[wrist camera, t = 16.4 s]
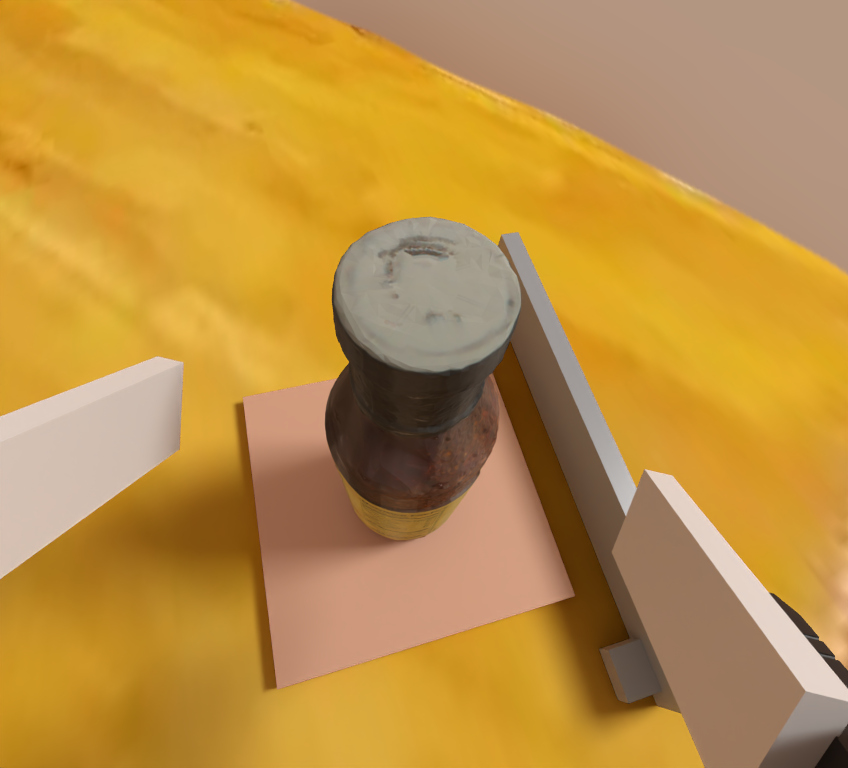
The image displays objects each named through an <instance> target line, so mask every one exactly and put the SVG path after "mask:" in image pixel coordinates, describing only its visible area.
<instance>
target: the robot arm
mask: <svg viewBox="0 0 848 768" xmlns="http://www.w3.org/2000/svg"><path fill="white" fill-rule="evenodd" d="M183 363H184V362H179V361H175V360H171V359H166V358H162V357H158V356H157V357H155V358H152V359H150V360H147V361H144V362H142V363H139V364H137V365H134V366H131V367H129V368H126V369H123V370H121V371H118V372H116V373H113V374H110V375H108V376H105V377H103V378H100V379H97V380H95V381H92V382H89V383H87V384H84V385H82V386H79V387H76V388H74V389H71V390H69V391H66V392H63V393H61V394H58V395H55V396H53V397H50V398H48V399H45V400H42V401H40V402H37V403H35V404H32V405H29V406H27V407H24V408H21V409H19V410H16V411H14V412H11V413H8V414H6V415H3V416H1V417H0V579H1V578H2V577H4V576H5V575H7V574H8V573H9V572H11V571H12V570H13V569H15V568H16V567H18V566H19V565H20V564H22V563H23V562H24V561H26V560H27V559H29V558H30V557H31V556H33V555H34V554H35V553H37V552H38V551H40V550H41V549H42V548H44V547H45V546H47V545H48V544H49V543H51V542H52V541H53V540H55V539H56V538H58V537H59V536H60V535H62V534H63V533H64V532H66V531H67V530H69V529H70V528H71V527H73V526H74V525H75V524H77V523H78V522H80V521H81V520H82V519H84V518H85V517H87V516H88V515H89V514H91V513H92V512H93V511H95V510H96V509H98V508H99V507H100V506H102V505H103V504H104V503H106V502H107V501H109V500H110V499H111V498H113V497H114V496H115V495H117V494H118V493H120V492H121V491H122V490H124V489H125V488H127V487H128V486H129V485H131V484H132V483H133V482H135V481H136V480H138V479H139V478H140V477H142V476H143V475H144V474H146V473H147V472H149V471H150V470H151V469H153V468H154V467H156V466H157V465H158V464H160V463H161V462H162V461H164V460H165V459H167V458H168V457H169V456H171V455H172V454H173V453H175V452H176V451H178V450H179V449H180V427H181V406H182V385H183ZM612 554H613V556H614V559H615V561H616V563H617V566H618V568H619V570H620V573H621V575H622V577H623V579H624V582H625V584H626V586H627V589H628V591H629V593H630V596H631V598H632V600H633V603H634V605H635V607H636V609H637V612H638V614H639V616H640V619H641V621H642V623H643V626H644V628H645V630H646V633H647V635H648V637H649V639H650V642H651V644H652V646H653V649H654V651H655V653H656V656H657V658H658V660H659V663H660V665H661V667H662V669H663V672H664V674H665V676H666V679H667V681H668V683H669V686H670V688H671V690H672V693H673V695H674V697H675V700H676V702H677V704H678V706H679V709H680V711H681V713H682V716H683V718H684V720H685V723H686V725H687V727H688V730H689V732H690V734H691V736H692V739H693V741H694V743H695V746H696V748H697V750H698V753H699V755H700V757H701V760H702V762H703V764H704V766H705V768H848V670H847V669H846V668H845V667H844V666H843V665H842V663H841V662H840V661H838V660H835V655H834V654H833V653H832V652H831V651H830V649H829V648H828V647H827V646H826V645H825V644H824V642H822V641H819V637H818V635H817V634H816V633H815V632H814V631H813V630H812V628H811V627H810V626H809V625H808V624H807V623H806V621H805V620H804V619H803V618H802V617H801V616H800V615H799V614H798V613H797V612H796V611H794V610H793V609H792V608H791V607H790V606H788V605H787V604H786V603H785V602H783V601H782V600H781V599H780V598H778V597H777V596H776V595H775V594H773V593H769V592H768V591H767V590H766V589H765V588H764V586H763V585H762V584H761V583H760V582H759V580H758V579H757V578H756V577H755V575H754V574H753V573H752V572H751V571H750V569H749V568H748V567H747V566H746V565H745V563H744V562H743V561H742V560H741V558H740V557H739V556H738V555H737V554H736V552H735V551H734V550H733V549H732V548H731V546H730V545H729V544H728V543H727V541H726V540H725V539H724V538H723V537H722V535H721V534H720V533H719V532H718V531H717V529H716V528H715V527H714V526H713V524H712V523H711V522H710V521H709V520H708V518H707V517H706V516H705V515H704V514H703V512H702V511H701V510H700V509H699V507H698V506H697V505H696V504H695V503H694V501H693V500H692V499H691V498H690V497H689V495H688V494H687V493H686V492H685V490H684V489H683V488H682V487H681V486H680V484H679V483H678V482H677V481H676V480H675V478H674V477H673V476H671V475H667V474H663V473H658V472H654V471H650V470H645V469H644V472H643V474H642V477H641V479H640V482H639V485H638V487H637V490H636V492H635V495H634V497H633V500H632V502H631V505H630V507H629V510H628V512H627V515H626V517H625V520H624V522H623V525H622V527H621V530H620V532H619V535H618V537H617V540H616V542H615V545H614V547H613V550H612Z"/></svg>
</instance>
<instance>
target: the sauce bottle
mask: <svg viewBox="0 0 848 768" xmlns="http://www.w3.org/2000/svg"><path fill="white" fill-rule="evenodd" d="M332 306H333V315H334V323H335V330H336V336H337V339H338V341H339V343H340V345H341V348H342V351H343V352H344V354H345V356H346V358H347V359H348V361H349V364H348V365H347V366H346V367H345V369H344V370H343V371H342V372H341V374H340V375H339V377H338V378H337V380H336V381H335V383H334V385H333V387H332V389H331V391H330V394H329V397H328V400H327V404H326V411H325V431H326V439H327V443H328V447H329V450H330V452H331V455H332V458H333V460H334V463H335V466H336V468H337V470H338V472H339V474H340V477H341V479H342V482H343V484H344V487H345V490H346V492H347V494H348V497H349V499H350V502H351V504H352V507H353V509H354V511H355V513H356V514H357V516H358V517H359V518H360V520H361V521H362V522H363V523H364V524H365V525H366V526H368V527H369V528H370V529H371V530H373V531H374V532H376V533H378V534H380V535H382V536H384V537H387V538H390V539H394V540H411V539H417V538H422V537H425V536H426V535H428V534H430V533H432V532H434V531H435V530H437V529H438V528H439V527H440V526H441V525H443V524H444V523H445V522H446V521H447V520H448V518H449V517H450V516H451V514H452V513H453V512H454V510H455V509H456V507H457V506H458V505H459V503H460V502H461V501H462V499H463V498H464V496H465V495H466V494H467V492H468V491H469V489H470V488H471V487H472V485H473V484H474V482H475V481H476V479H477V478H478V477H479V475H480V470H481V469H482V467H483V466H484V464H485V462H486V461H487V459H488V457H489V455H490V454H491V452H492V449H493V447H494V445H495V443H496V439H497V432H498V429H499V428H498V425H499V415H500V407H499V401H498V394H497V392H496V391H495V388H494V384H493V382H492V379H491V377H490V374H492V372H493V371H494V369H495V368H496V366H497V365H498V364H499V363H500V362H501V361H502V359H503V356H504V354H505V351H506V349H507V347H508V345H509V342H510V340H511V338H512V335H513V333H514V330H515V328H516V325H517V322H518V319H519V315H520V311H521V290H520V284H519V281H518V278H517V275H516V274H515V272H514V271H513V270H512V267H511V265H510V263H509V261H508V259H507V258H506V257H505V255H504V254H503V252H502V251H501V250H500V248H499V247H498V246H497V245H496V244H495V243H493V242H492V241H491V240H489V239H488V238H487V237H486V236H484V235H482V234H481V233H479V232H477V231H475V230H474V229H472V228H470V227H468V226H466V225H465V224H461V223H457V222H453V221H449V220H445V219H438V218H433V217H421V218H412V219H405V220H401V221H397V222H393V223H390V224H387V225H385V226H382V227H380V228H377V229H375V230H373V231H370V232H367V233H366V234H365V235H364V236H362V237H361V238H360V239H359V240H358V241H356V242H354V243H353V244H352V245H350V247H349V249H348V250H347V251H346V253H345V254H344V255H343V256H342V258H341V260H340V262H339V264H338V267H337V270H336V272H335V275H334V282H333V288H332Z"/></svg>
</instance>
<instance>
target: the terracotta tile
mask: <svg viewBox="0 0 848 768" xmlns="http://www.w3.org/2000/svg"><path fill="white" fill-rule="evenodd" d="M490 377H491V379H492V382H493V384H494V388H495V391H496V392H497V394H498V401H499V407H500V415H499V425H498V428H499V429H498V432H497V439H496V443H495V445H494V447H493V449H492V452H491V454H490V455H489V457H488V459H487V461H486V462H485V464H484V466H483V467H482V469H481V470H480V475H479V477H478V478H477V479H476V481H475V482H474V484H473V485H472V487H471V488H470V489H469V491H468V492H467V494H466V495H465V496H464V498H463V499H462V501H461V502H460V503H459V505H458V506H457V507H456V509H455V510H454V512H453V513H452V514H451V516H450V517H449V518H448V520H447V521H446V522H445V523H444V524H443V525H441V526H440V527H439V528H438V529H437V530H435V531H434V532H432V533H430V534H428V535H426V536H425V537H422V538H417V539H411V540H394V539H390V538H387V537H384V536H382V535H380V534H378V533H376V532H374V531H373V530H371V529H370V528H369V527H368V526H366V525H365V524H364V523H363V522H362V521H361V520H360V518H359V517H358V516H357V514H356V513H355V511H354V509H353V507H352V504H351V502H350V499H349V497H348V494H347V492H346V490H345V487H344V484H343V482H342V479H341V477H340V474H339V472H338V470H337V468H336V466H335V463H334V460H333V458H332V455H331V452H330V450H329V447H328V443H327V439H326V431H325V411H326V404H327V400H328V397H329V394H330V391H331V389H332V387H333V385H334V383H335V381H336V380H337V379H332V380H327V381H322V382H317V383H312V384H307V385H302V386H297V387H292V388H287V389H282V390H277V391H272V392H267V393H262V394H257V395H252V396H247V397H243V403H244V411H245V420H246V428H247V437H248V445H249V454H250V462H251V471H252V479H253V488H254V496H255V505H256V513H257V522H258V530H259V539H260V547H261V556H262V564H263V573H264V581H265V590H266V598H267V607H268V615H269V624H270V632H271V641H272V649H273V658H274V666H275V675H276V683H277V689H280V688H284V687H287V686H290V685H293V684H296V683H300V682H303V681H306V680H309V679H312V678H315V677H319V676H322V675H325V674H328V673H331V672H335V671H338V670H341V669H344V668H347V667H351V666H354V665H357V664H360V663H363V662H367V661H370V660H373V659H376V658H379V657H383V656H386V655H389V654H392V653H395V652H398V651H402V650H405V649H408V648H411V647H414V646H418V645H421V644H424V643H427V642H430V641H434V640H437V639H440V638H443V637H446V636H450V635H453V634H456V633H459V632H462V631H465V630H469V629H472V628H475V627H478V626H481V625H485V624H488V623H491V622H494V621H497V620H501V619H504V618H507V617H510V616H513V615H517V614H520V613H523V612H526V611H529V610H532V609H536V608H539V607H542V606H545V605H548V604H552V603H555V602H558V601H561V600H564V599H568V598H571V597H574V596H575V593H574V591H573V588H572V585H571V583H570V580H569V577H568V575H567V572H566V569H565V566H564V564H563V561H562V558H561V556H560V553H559V550H558V548H557V545H556V542H555V540H554V537H553V534H552V531H551V529H550V526H549V523H548V521H547V518H546V515H545V513H544V510H543V507H542V505H541V502H540V499H539V496H538V494H537V491H536V488H535V486H534V483H533V480H532V478H531V475H530V472H529V470H528V467H527V464H526V461H525V459H524V456H523V453H522V451H521V448H520V445H519V443H518V440H517V437H516V435H515V432H514V429H513V426H512V424H511V421H510V418H509V416H508V413H507V410H506V408H505V405H504V402H503V399H502V397H501V394H500V391H499V389H498V386H497V383H496V381H495V378H494V375H493V373H492V374H490Z"/></svg>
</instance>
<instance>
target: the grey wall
mask: <svg viewBox="0 0 848 768" xmlns="http://www.w3.org/2000/svg"><path fill="white" fill-rule="evenodd" d="M498 247H499V248H500V250H501V251H502V252H503V254H504V255H505V257H506V258H507V259H508V261H509V263H510V265H511V267H512V270H513V271H514V272H515V274H516V275H517V278H518V281H519V284H520V290H521V311H520V315H519V319H518V322H517V325H516V328H515V330H514V333H513V335H512V338H511V340H510V341H511V344H512V346H513V349H514V351H515V354H516V356H517V359H518V361H519V364H520V366H521V369H522V371H523V374H524V376H525V379H526V381H527V384H528V386H529V389H530V391H531V394H532V396H533V399H534V401H535V404H536V406H537V409H538V411H539V414H540V416H541V418H542V421H543V423H544V426H545V428H546V431H547V433H548V436H549V438H550V441H551V443H552V446H553V448H554V451H555V453H556V456H557V458H558V461H559V463H560V466H561V468H562V471H563V473H564V476H565V478H566V481H567V483H568V486H569V488H570V491H571V493H572V496H573V498H574V501H575V503H576V506H577V508H578V511H579V513H580V516H581V518H582V521H583V523H584V525H585V528H586V530H587V533H588V535H589V538H590V540H591V543H592V545H593V548H594V550H595V553H596V555H597V558H598V560H599V563H600V565H601V568H602V570H603V573H604V575H605V578H606V580H607V583H608V585H609V588H610V590H611V593H612V595H613V598H614V600H615V603H616V605H617V608H618V610H619V613H620V615H621V618H622V620H623V623H624V625H625V627H626V630H627V632H628V635H629V637H630V639H627V640H624V641H621V642H618V643H615V644H612V645H609V646H606V647H603V648H600V649H599V651H600V653H601V656H602V659H603V661H604V664H605V667H606V669H607V672H608V675H609V677H610V680H611V683H612V686H613V688H614V691H615V694H616V696H617V699H618V700H619V701H622V702H625V703H628V704H629V703H632V702H634V701H637V700H640V699H642V698H645V697H648V696H651V695H653V697H654V700H655V702H656V705H657V706H659V707H662V708H666V709H669V710H672V711H675V712H679V713H681V711H680V709H679V706H678V704H677V702H676V700H675V697H674V695H673V693H672V690H671V688H670V686H669V683H668V681H667V679H666V676H665V674H664V672H663V669H662V667H661V665H660V663H659V660H658V658H657V656H656V653H655V651H654V649H653V646H652V644H651V642H650V639H649V637H648V635H647V633H646V630H645V628H644V626H643V623H642V621H641V619H640V616H639V614H638V612H637V609H636V607H635V605H634V603H633V600H632V598H631V596H630V593H629V591H628V589H627V586H626V584H625V582H624V579H623V577H622V575H621V573H620V570H619V568H618V566H617V563H616V561H615V559H614V556H613V554H612V550H613V547H614V545H615V542H616V540H617V537H618V535H619V532H620V530H621V527H622V525H623V522H624V520H625V517H626V515H627V512H628V510H629V507H630V505H631V502H632V500H633V497H634V495H635V492H636V490H637V488H636V486H635V484H634V482H633V480H632V478H631V475H630V473H629V471H628V469H627V467H626V465H625V462H624V460H623V458H622V456H621V454H620V452H619V449H618V447H617V445H616V443H615V441H614V439H613V436H612V434H611V432H610V430H609V428H608V426H607V423H606V421H605V419H604V417H603V415H602V413H601V411H600V408H599V406H598V404H597V402H596V400H595V398H594V395H593V393H592V391H591V389H590V387H589V385H588V382H587V380H586V378H585V376H584V374H583V372H582V369H581V367H580V365H579V363H578V361H577V359H576V356H575V354H574V352H573V350H572V348H571V346H570V343H569V341H568V339H567V337H566V335H565V333H564V330H563V328H562V326H561V324H560V322H559V320H558V317H557V315H556V313H555V311H554V309H553V307H552V304H551V302H550V300H549V298H548V296H547V294H546V291H545V289H544V287H543V285H542V283H541V281H540V278H539V276H538V274H537V272H536V270H535V268H534V266H533V263H532V261H531V259H530V257H529V255H528V253H527V250H526V248H525V246H524V244H523V242H522V240H521V237H520V235H519V233H518V232H517V233H510V234H504V235H501V238H500V241H499V245H498Z"/></svg>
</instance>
